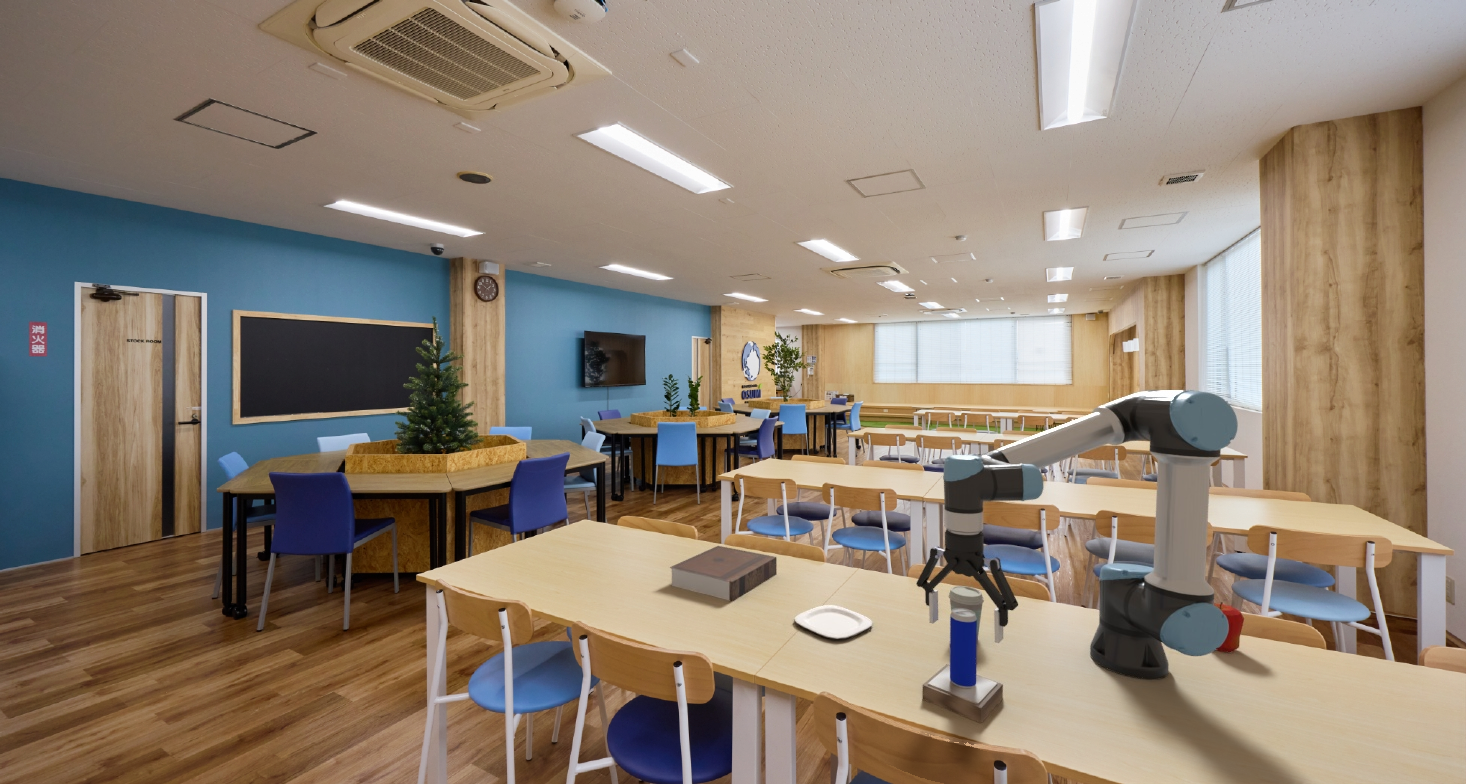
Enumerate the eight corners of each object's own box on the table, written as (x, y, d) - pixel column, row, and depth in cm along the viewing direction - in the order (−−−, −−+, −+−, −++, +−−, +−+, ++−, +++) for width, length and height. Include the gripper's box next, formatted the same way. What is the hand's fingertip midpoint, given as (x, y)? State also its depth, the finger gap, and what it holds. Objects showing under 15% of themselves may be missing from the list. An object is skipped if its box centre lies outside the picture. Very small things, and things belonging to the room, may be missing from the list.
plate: (837, 648, 141) (837, 641, 141) (786, 624, 155) (786, 618, 155) (880, 627, 153) (880, 621, 153) (829, 607, 167) (829, 601, 167)
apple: (1232, 643, 143) (1233, 597, 142) (1250, 658, 135) (1251, 609, 134) (1191, 638, 145) (1192, 592, 145) (1207, 652, 138) (1207, 605, 137)
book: (776, 575, 194) (776, 556, 193) (732, 603, 170) (732, 581, 170) (718, 563, 207) (717, 545, 207) (669, 587, 183) (669, 567, 183)
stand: (1002, 698, 118) (1002, 682, 118) (980, 723, 110) (980, 706, 110) (946, 677, 127) (946, 662, 127) (922, 698, 118) (922, 683, 118)
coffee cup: (987, 645, 142) (987, 598, 141) (951, 642, 143) (951, 596, 143) (979, 630, 150) (979, 586, 150) (945, 628, 152) (945, 584, 151)
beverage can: (969, 676, 121) (969, 607, 120) (980, 689, 116) (981, 617, 115) (945, 676, 121) (946, 607, 120) (956, 690, 115) (956, 617, 115)
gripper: (1034, 536, 111) (1035, 642, 112) (915, 517, 129) (917, 608, 129) (1021, 545, 106) (1023, 656, 106) (899, 523, 123) (901, 619, 124)
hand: (965, 630), depth 118 cm, fingers open, 13 cm apart
